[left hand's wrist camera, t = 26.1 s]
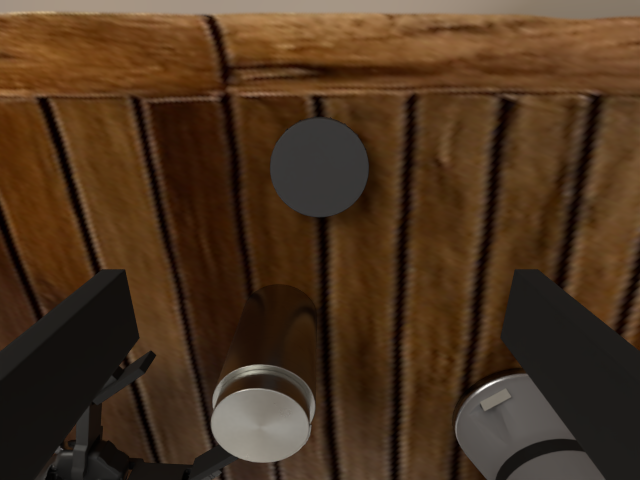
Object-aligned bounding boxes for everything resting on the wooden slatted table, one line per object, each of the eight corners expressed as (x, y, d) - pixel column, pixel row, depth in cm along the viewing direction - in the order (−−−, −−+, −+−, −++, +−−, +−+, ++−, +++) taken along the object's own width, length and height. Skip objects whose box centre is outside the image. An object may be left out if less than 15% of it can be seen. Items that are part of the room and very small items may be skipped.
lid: (374, 198, 38) (377, 205, 36) (287, 219, 39) (285, 226, 37) (355, 105, 35) (357, 106, 33) (260, 130, 36) (257, 132, 33)
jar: (241, 343, 44) (204, 461, 30) (245, 280, 41) (205, 378, 27) (312, 350, 45) (308, 470, 31) (321, 288, 42) (321, 390, 27)
